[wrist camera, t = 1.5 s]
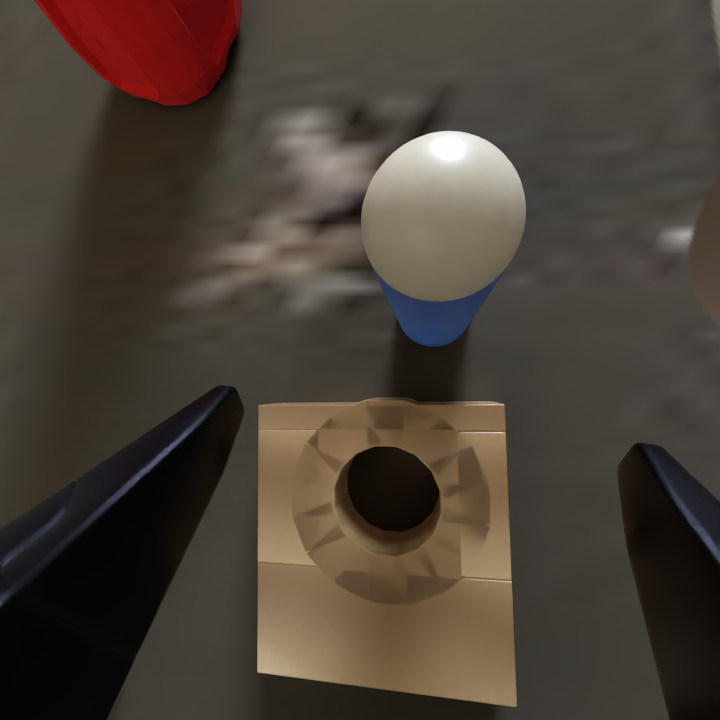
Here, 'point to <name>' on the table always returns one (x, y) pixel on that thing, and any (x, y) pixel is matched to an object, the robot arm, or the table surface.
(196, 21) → the water bottle
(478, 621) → the holder
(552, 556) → the table surface
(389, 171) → the white topped blue rod
